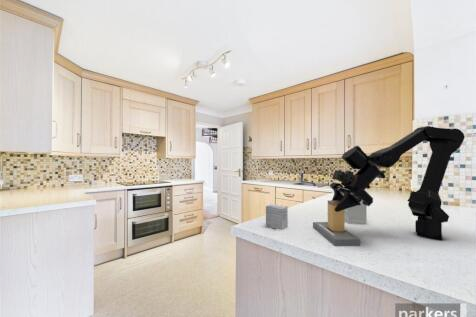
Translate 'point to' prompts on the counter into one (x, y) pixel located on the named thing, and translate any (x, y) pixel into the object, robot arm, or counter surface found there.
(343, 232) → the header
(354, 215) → the supplement box
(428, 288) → the counter surface
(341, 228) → the plug
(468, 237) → the counter surface
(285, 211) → the medicine box
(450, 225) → the counter surface
